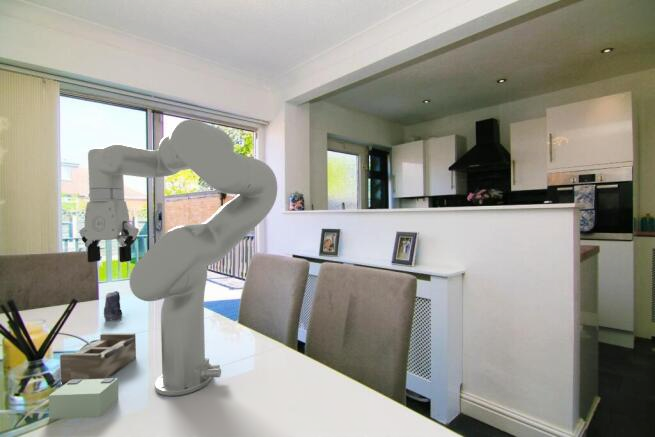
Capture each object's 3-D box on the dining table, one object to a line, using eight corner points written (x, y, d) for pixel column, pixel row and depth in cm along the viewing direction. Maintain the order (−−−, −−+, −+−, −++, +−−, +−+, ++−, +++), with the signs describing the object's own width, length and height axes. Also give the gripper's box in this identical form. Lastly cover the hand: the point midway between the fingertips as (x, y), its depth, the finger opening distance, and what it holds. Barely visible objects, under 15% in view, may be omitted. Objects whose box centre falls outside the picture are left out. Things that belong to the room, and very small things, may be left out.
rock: (121, 320, 125) (120, 293, 125) (104, 323, 122) (103, 296, 122) (122, 313, 134) (121, 289, 134) (106, 316, 131) (105, 290, 131)
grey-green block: (118, 400, 71) (117, 377, 71) (100, 417, 65) (99, 392, 65) (71, 402, 71) (71, 379, 70) (49, 420, 65) (48, 394, 64)
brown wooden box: (103, 358, 92) (102, 333, 92) (139, 358, 91) (139, 333, 91) (60, 384, 78) (60, 355, 78) (103, 384, 77) (102, 355, 77)
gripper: (65, 197, 82) (68, 263, 82) (123, 194, 79) (126, 263, 79) (92, 198, 90) (95, 259, 90) (146, 195, 86) (149, 259, 86)
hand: (109, 261), depth 84 cm, fingers open, 9 cm apart
